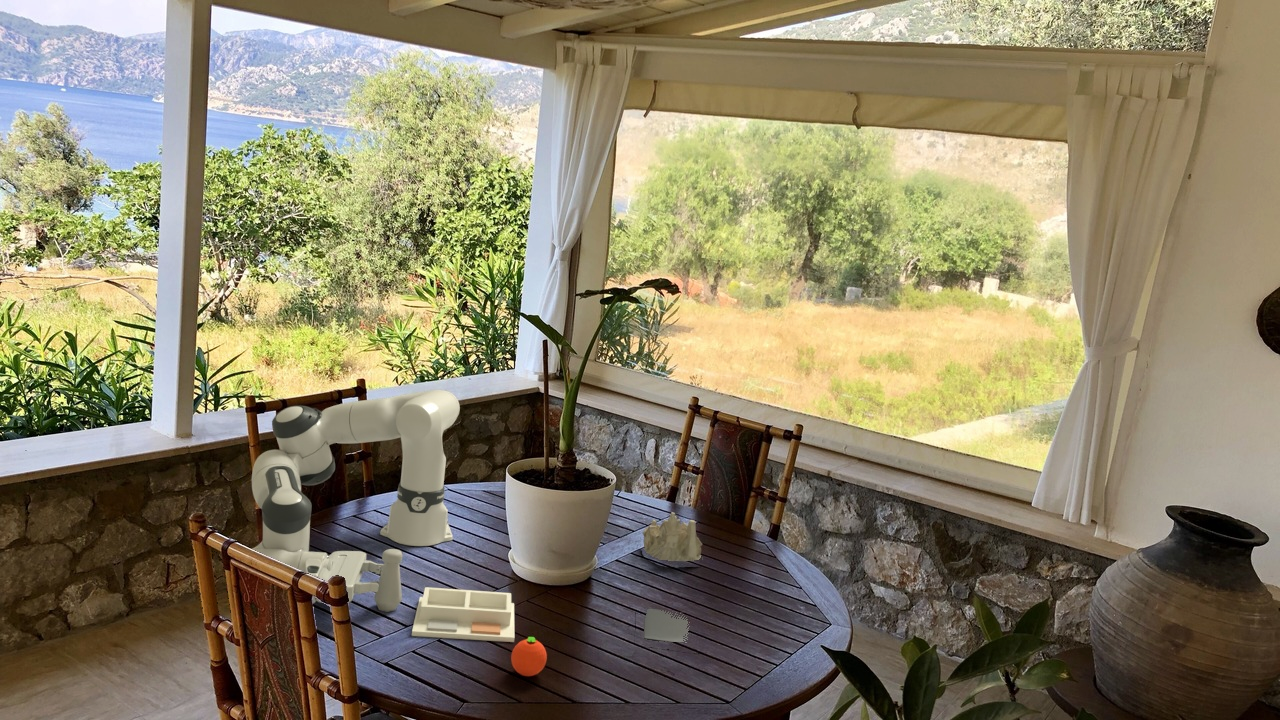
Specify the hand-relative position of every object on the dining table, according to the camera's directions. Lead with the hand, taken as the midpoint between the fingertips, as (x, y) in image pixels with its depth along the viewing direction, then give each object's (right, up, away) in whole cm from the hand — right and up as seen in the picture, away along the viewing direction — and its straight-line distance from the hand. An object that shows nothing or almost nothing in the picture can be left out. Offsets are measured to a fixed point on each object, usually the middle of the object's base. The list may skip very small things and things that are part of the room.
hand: (381, 577), depth 197 cm
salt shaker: (+1, -7, +2) cm, 7 cm away
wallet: (+62, -15, +10) cm, 64 cm away
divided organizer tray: (+18, -9, 0) cm, 20 cm away
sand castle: (+64, -8, +56) cm, 85 cm away
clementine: (+34, -14, -18) cm, 41 cm away
